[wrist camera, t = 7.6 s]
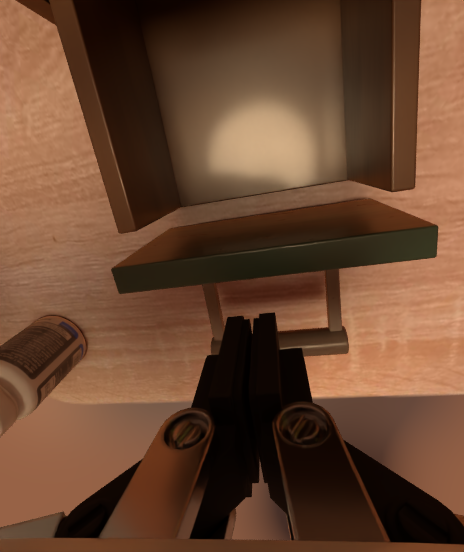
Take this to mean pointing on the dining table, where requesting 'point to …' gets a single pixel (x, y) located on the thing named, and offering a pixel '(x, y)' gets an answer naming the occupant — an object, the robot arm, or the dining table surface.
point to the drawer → (251, 136)
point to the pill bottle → (36, 365)
